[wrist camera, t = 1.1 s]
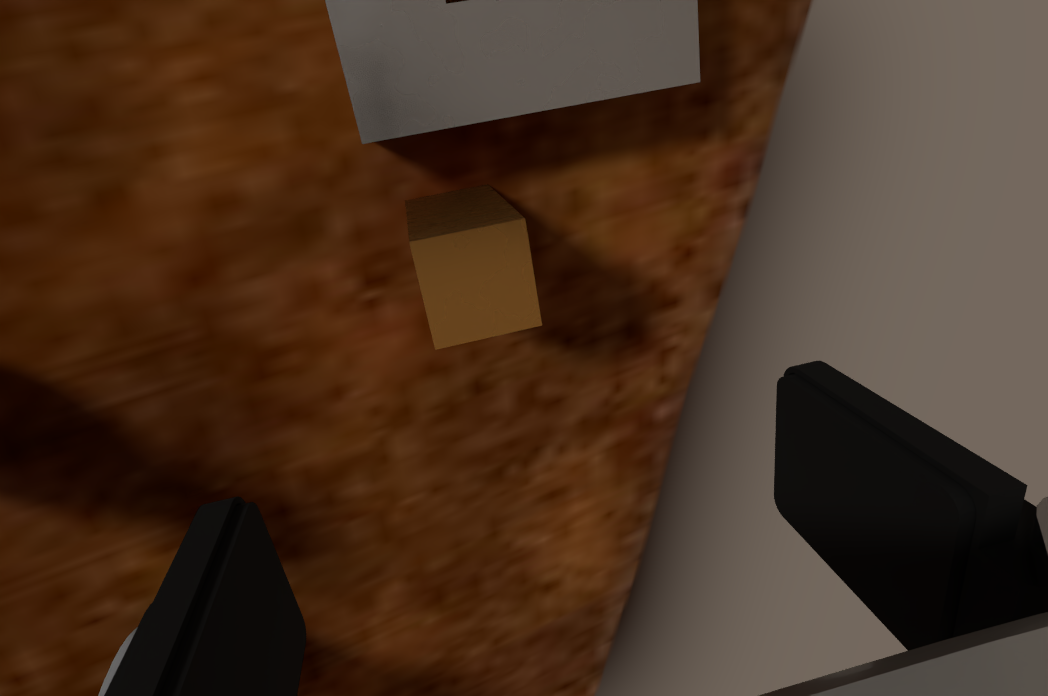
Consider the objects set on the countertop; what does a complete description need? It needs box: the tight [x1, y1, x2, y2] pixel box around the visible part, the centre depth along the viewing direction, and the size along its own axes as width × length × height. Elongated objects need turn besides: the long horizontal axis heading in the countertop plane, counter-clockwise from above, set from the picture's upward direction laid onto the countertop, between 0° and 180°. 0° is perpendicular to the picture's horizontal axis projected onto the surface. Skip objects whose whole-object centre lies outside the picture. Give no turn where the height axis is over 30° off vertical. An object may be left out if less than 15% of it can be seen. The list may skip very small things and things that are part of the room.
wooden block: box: [405, 184, 542, 350], centre depth 25 cm, size 4×4×9 cm
